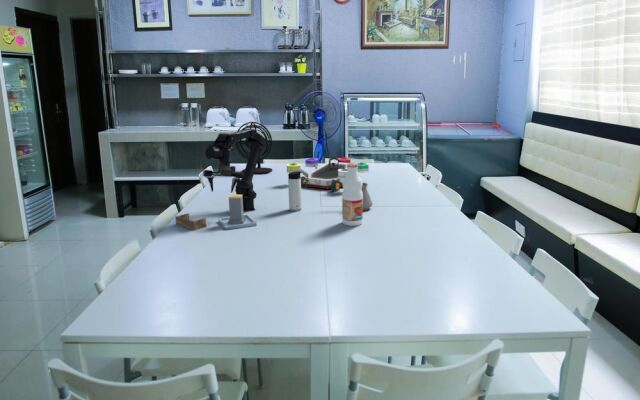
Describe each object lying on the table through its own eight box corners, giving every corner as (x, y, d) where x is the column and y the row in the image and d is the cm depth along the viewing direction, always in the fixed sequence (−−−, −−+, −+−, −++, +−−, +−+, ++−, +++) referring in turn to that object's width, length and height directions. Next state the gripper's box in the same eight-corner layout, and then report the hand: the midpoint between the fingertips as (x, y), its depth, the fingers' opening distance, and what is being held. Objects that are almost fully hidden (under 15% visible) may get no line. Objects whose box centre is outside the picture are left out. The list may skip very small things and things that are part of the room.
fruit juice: (345, 219, 246) (345, 161, 239) (364, 220, 243) (364, 162, 236) (340, 225, 237) (339, 165, 230) (360, 226, 235) (360, 166, 227)
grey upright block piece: (231, 220, 246) (229, 194, 242) (245, 220, 245) (244, 194, 242) (228, 224, 240) (226, 197, 237) (243, 224, 239) (241, 197, 236)
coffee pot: (373, 205, 268) (373, 177, 265) (371, 212, 258) (371, 182, 254) (333, 204, 273) (332, 176, 269) (329, 210, 262) (329, 181, 258)
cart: (378, 181, 324) (378, 155, 320) (349, 194, 292) (349, 166, 288) (317, 174, 347) (317, 150, 343) (284, 186, 315) (283, 160, 311)
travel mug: (300, 211, 260) (299, 173, 255) (287, 211, 261) (286, 172, 256) (303, 208, 266) (302, 170, 261) (291, 208, 267) (289, 170, 262)
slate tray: (247, 217, 252) (247, 214, 252) (256, 225, 239) (256, 222, 239) (218, 221, 246) (218, 218, 246) (225, 230, 234) (225, 226, 233)
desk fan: (233, 174, 352) (229, 122, 343) (243, 168, 369) (240, 119, 360) (270, 175, 345) (267, 123, 336) (279, 170, 361) (277, 120, 352)
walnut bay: (188, 221, 248) (187, 213, 247) (206, 226, 239) (205, 218, 238) (176, 224, 243) (175, 216, 242) (193, 230, 234) (193, 222, 233)
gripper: (206, 159, 235) (204, 193, 236) (247, 161, 242) (244, 195, 243) (203, 157, 245) (201, 190, 247) (242, 160, 252) (239, 192, 253)
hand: (222, 192), depth 247 cm, fingers open, 9 cm apart
